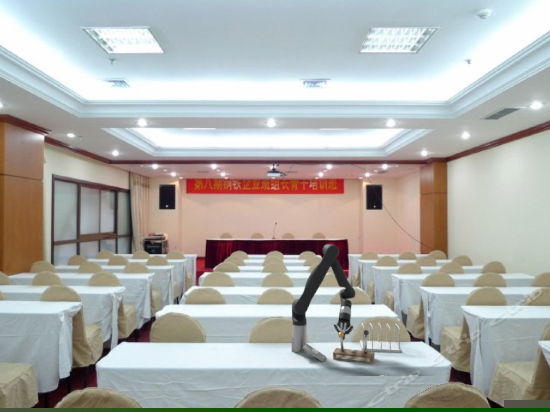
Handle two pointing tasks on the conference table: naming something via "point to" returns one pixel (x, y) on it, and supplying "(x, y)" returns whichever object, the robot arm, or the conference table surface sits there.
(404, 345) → the conference table surface
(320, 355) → the light switch
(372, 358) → the switch panel
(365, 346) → the lever black
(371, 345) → the file sorter
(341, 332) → the lever orange
